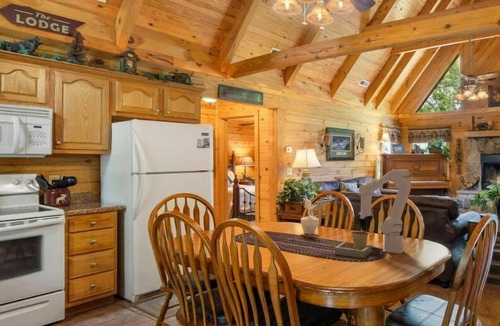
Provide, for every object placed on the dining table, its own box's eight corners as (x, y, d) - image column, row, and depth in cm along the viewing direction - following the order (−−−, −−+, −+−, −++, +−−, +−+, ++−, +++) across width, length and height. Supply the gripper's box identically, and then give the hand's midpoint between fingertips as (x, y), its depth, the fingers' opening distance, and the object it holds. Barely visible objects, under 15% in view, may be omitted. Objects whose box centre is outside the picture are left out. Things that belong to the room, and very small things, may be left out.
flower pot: (349, 249, 204) (349, 233, 204) (352, 245, 213) (352, 230, 212) (366, 251, 200) (366, 235, 200) (370, 247, 208) (370, 232, 208)
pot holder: (371, 252, 198) (371, 245, 198) (363, 258, 187) (363, 251, 187) (343, 248, 206) (343, 242, 206) (334, 254, 195) (334, 247, 195)
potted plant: (297, 232, 250) (297, 194, 249) (312, 231, 255) (312, 194, 254) (308, 236, 238) (308, 196, 238) (323, 234, 243) (323, 195, 243)
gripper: (362, 203, 224) (362, 226, 224) (355, 206, 212) (354, 230, 212) (374, 204, 220) (374, 227, 221) (367, 207, 208) (367, 232, 208)
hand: (365, 229), depth 216 cm, fingers open, 7 cm apart
